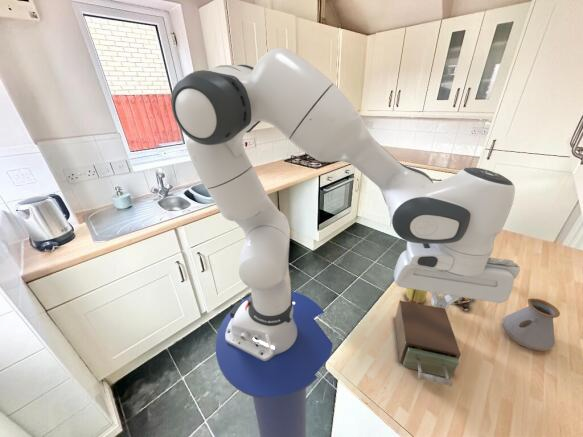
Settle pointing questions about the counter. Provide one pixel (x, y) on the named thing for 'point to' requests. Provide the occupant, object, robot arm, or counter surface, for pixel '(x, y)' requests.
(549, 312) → the coffee pot
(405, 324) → the cabinet
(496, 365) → the counter surface
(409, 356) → the drawer
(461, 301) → the pastry
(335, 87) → the robot arm
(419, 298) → the sauce bottle
